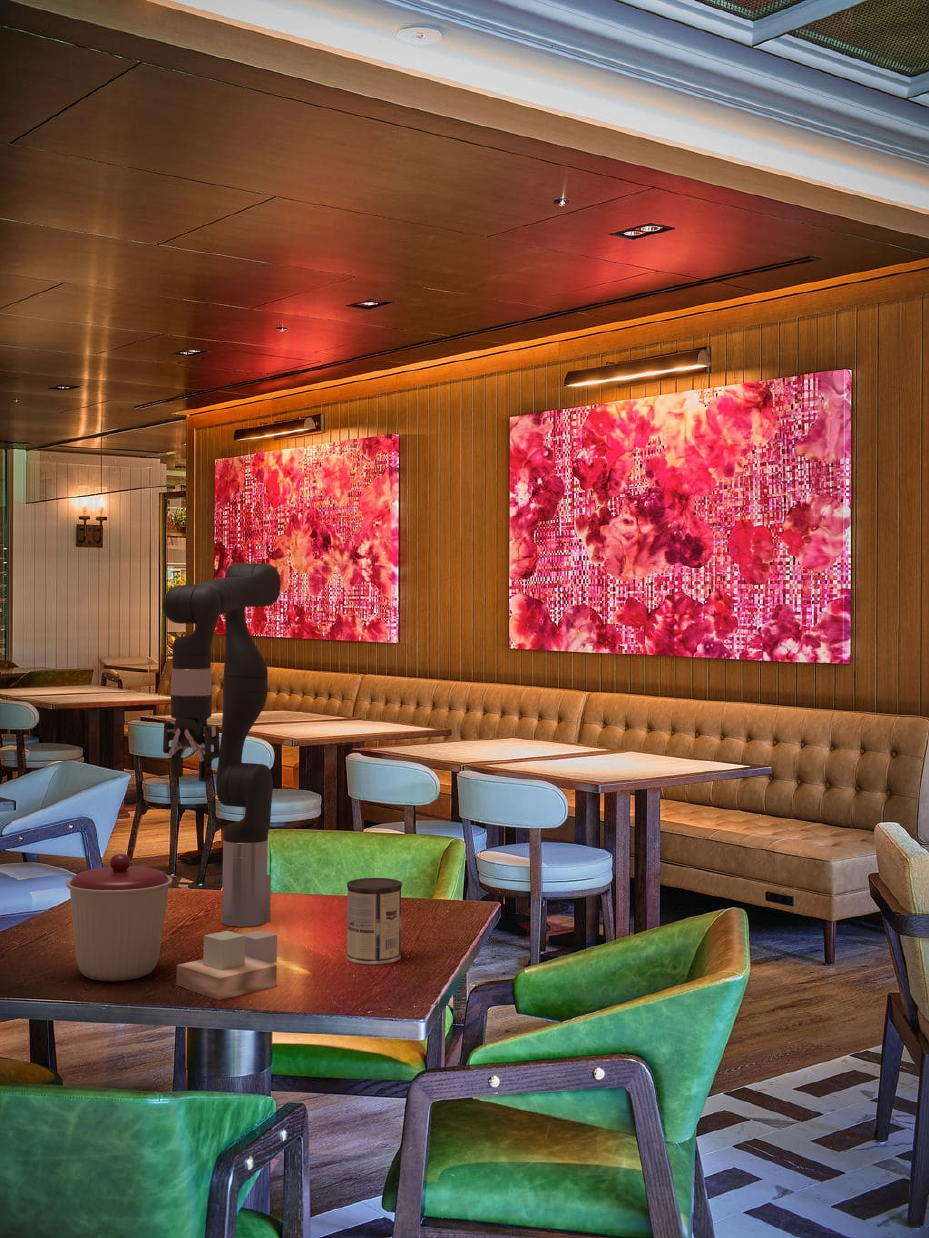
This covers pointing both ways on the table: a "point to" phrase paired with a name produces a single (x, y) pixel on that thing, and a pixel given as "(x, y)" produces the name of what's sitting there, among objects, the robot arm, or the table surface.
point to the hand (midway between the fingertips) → (190, 779)
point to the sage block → (224, 950)
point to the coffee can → (373, 920)
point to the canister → (118, 919)
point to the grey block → (261, 946)
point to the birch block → (226, 978)
